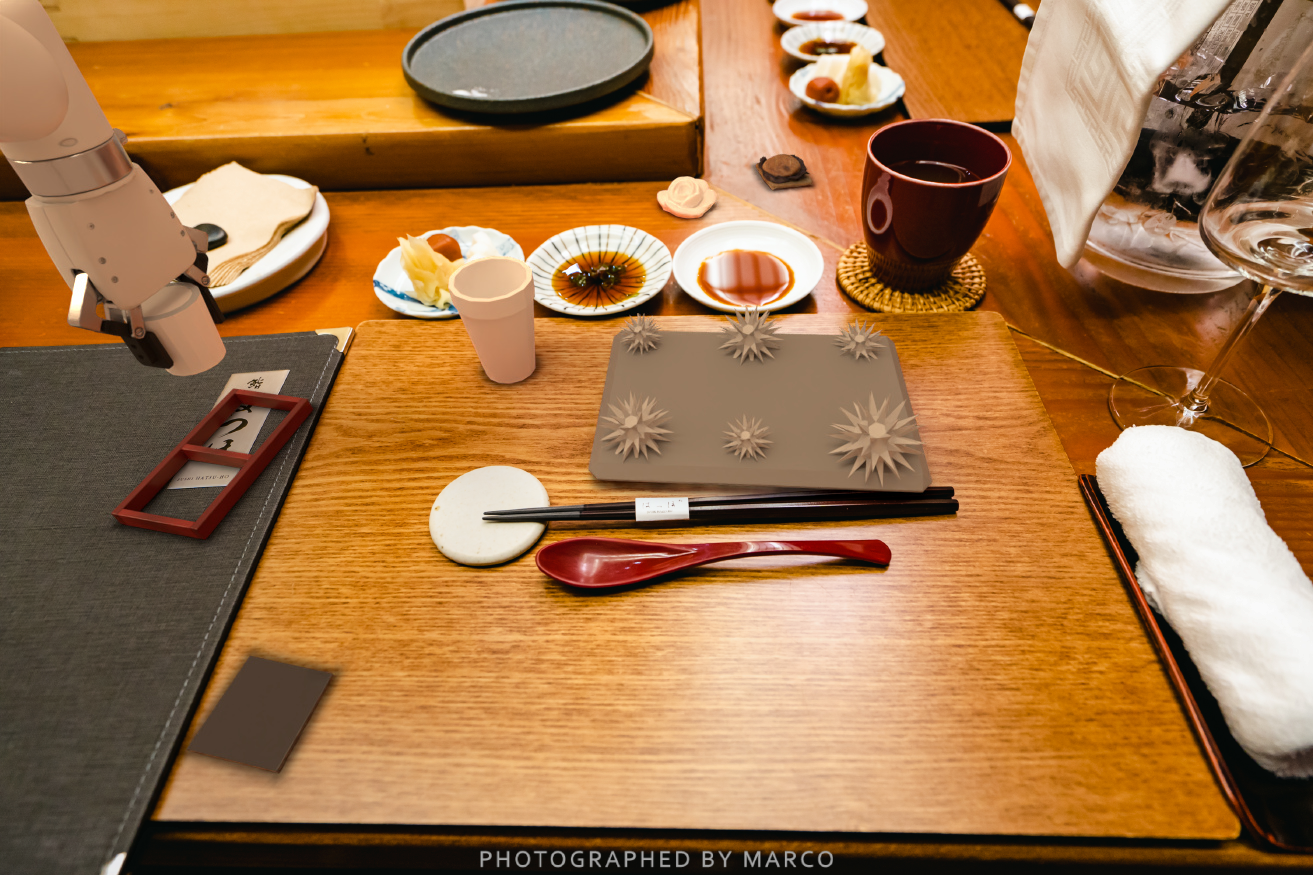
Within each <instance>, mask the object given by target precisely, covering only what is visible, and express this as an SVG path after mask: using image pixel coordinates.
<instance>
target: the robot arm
mask: <svg viewBox="0 0 1313 875" xmlns="http://www.w3.org/2000/svg"><path fill="white" fill-rule="evenodd" d="M55 26H56V25H55V24H54V22H53V21H52V19H51V18H50V16H49V14H48V12H47V10H46V9H45V8H44V6H43V4H42V3H41V2H40V1H39V0H0V151H1V152H2V154H3V155H4V156H5V159H6V160H7V162H8V163H9V164H10V166H11V167H12V169H13V170H14V171H15V174H16V175H17V176H18V177H19V179H20V180H21V182H22V183H23V184H24V186H25V187H26V189H27V190H28V191H29V193H30V194H31V196H30V197H29V198H27V199H25V201H24V203H25V206H26V209H27V212H28V214H29V218H30V219H31V222H32V224H33V227H34V229H35V231H36V233H37V235H38V237H39V239H40V240H41V241H40V242H41V244H42V246H43V247H44V248H45V250H46V252H47V254H48V256H49V257H50V259H51V261H52V262H53V264H54V266H55V267H56V269H57V271H58V272H59V274H60V276H61V277H62V278H63V280H64V282H65V283H66V285H67V286H68V287H69V290H70V291H71V292H72V294H71V298H70V305H69V310H68V314H67V318H66V319H67V320H66V321H67V324H68V325H69V327H74V328H78V329H80V330H81V329H82V330H85V331H90V332H94V333H98V334H104V335H110V336H114V337H115V336H116V337H120V338H121V339H122V341H123V342H124V344H125V345H126V347H127V348H128V349H129V351H130V352H131V354H132V355H133V356H134V358H135V360H136V361H137V362H138V363H140V364H141V365H143V366H145V367H151V368H157V369H164V370H166V369H170V368H171V367H172V366H173V365H174V364H173V363H174V362H173V360H172V359H171V357H170V356H169V354H168V353H167V351H166V350H165V348H164V347H163V345H162V343H161V342H160V340H159V339H158V337H157V336H156V334H155V333H153V332H150V331H145V325H144V319H143V313H142V307H141V304H142V303H143V302H144V301H146V300H147V299H149V298H150V297H151V296H153V295H154V294H155V293H157V292H158V291H160V290H161V289H162V288H164V287H165V286H166V285H168V284H169V283H173V281H175V282H184V283H191V284H193V285H195V286H197V287H198V288H199V290H200V293H201V295H202V297H203V299H204V302H205V304H206V306H207V308H208V311H209V313H210V315H211V317H212V320H213V322H214V324H215V325H222V324H223V323H224V322H226V318H225V316H224V314H223V312H222V311H221V309H220V307H219V304H218V302H217V301H216V299H215V298H214V296H213V294H212V292H211V291H210V289H209V286H210V285H211V278H210V276H209V275H208V269H209V268H208V266H209V256H208V254H207V253H208V248H209V234H208V233H207V232H206V231H204V230H200V229H197V228H194V227H191V226H187V225H184V224H183V223H182V222H181V220H180V219H179V217H178V215H177V214H176V212H175V211H174V209H173V207H172V206H171V205H170V203H169V201H168V200H167V199H166V197H165V196H164V195H163V193H162V192H161V191H160V189H159V188H158V187H157V185H156V184H155V182H154V181H153V180H152V179H151V178H150V176H149V175H148V174H147V173H146V172H145V171H144V169H143V168H142V167H141V166H140V165H139V164H138V163H136V162H132V160H131V158H130V157H129V155H128V153H127V151H126V150H125V148H124V145H126V144H127V143H128V141H129V139H128V136H127V135H126V133H125V132H124V131H123V130H121V129H120V128H117V127H112V125H111V123H110V122H109V120H108V118H107V117H106V114H105V113H104V111H103V110H102V107H101V106H100V104H99V102H98V101H97V99H96V97H95V95H94V94H93V91H92V89H91V88H90V86H89V84H88V83H87V81H86V79H85V78H84V76H83V74H82V72H81V71H80V68H79V67H78V65H77V63H76V62H75V60H74V58H73V56H72V55H71V53H70V51H69V49H68V47H67V45H66V44H65V42H64V40H63V39H62V37H61V34H60V33H59V32H58V30H57V28H56V27H55ZM100 304H102V305H103V309H104V316H105V318H103V317H100V316H98V315H97V307H98V305H100ZM122 310H125V314H126V320H127V323H126V322H125V321H124V319H123V313H122Z"/></svg>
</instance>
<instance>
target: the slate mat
mask: <svg viewBox="0 0 1313 875" xmlns="http://www.w3.org/2000/svg"><path fill="white" fill-rule="evenodd" d="M334 676H335V675H334V673H332V672H327V671H323V670H318V669H313V668H309V667H306V666H305V667H304V666H300V665H295V664H290V663H286V662H281V661H277V660H271V659H268V658H263V657H258V656H254V655H249V656H248V657H247V659H246V660H245V662H244V663H243V664H242V666H241V667H240V669H239V671H237V674H236V675H235V677H234V678H233V679H232V681H231V683H230V684H229V685H228V687H227V688H226V691H224V693H223V694H222V696H221V697H220V699H219V700H218V702H217V703H216V705H215V706H214V708H213V709H212V711H211V712H210V714H209V715H208V717H207V718H206V720H205V721H204V722H203V724H202V725H201V727H200V729H198V732H197V733H196V734H195V736H194V738H193V739H192V740H191V742H190V743H189V745H187V747H186V750H187V751H189V752H191V753H196V754H201V755H204V756H207V757H212V758H215V759H220V760H225V761H229V762H233V763H236V764H240V765H244V766H249V767H252V768H256V769H260V770H264V771H269V772H272V773H276V774H278V773H280V770H281V769H282V767H283V765H284V764H285V762H286V760H287V759H288V757H289V755H290V753H291V752H292V750H293V749H294V747H295V745H296V743H297V741H298V739H300V736H301V734H302V732H303V731H304V729H305V727H306V726H307V724H308V722H309V720H310V718H311V717H312V715H313V714H314V711H315V710H316V708H317V707H318V705H319V703H320V701H321V699H322V698H323V696H324V694H325V693H326V690H327V689H328V687H329V685H330V684H331V682H332V680H333V678H334Z"/></svg>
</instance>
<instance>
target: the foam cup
mask: <svg viewBox="0 0 1313 875" xmlns="http://www.w3.org/2000/svg"><path fill="white" fill-rule="evenodd" d="M447 285H448V286H447V288H448V292H449V295H450V298H451V301H452V305H453V306H454V308H455V309H456V310H457V312H458V315H459V317H460V319H461V322H462V323H463V326H464V328H465V330H466V332H467V335H468V337H469V339H470V341H471V343H472V346H473V348H474V351H475V353H476V355H477V357H478V359H479V362H480V364H481V366H482V368H483V370H484V372H485V374H486V376H487V377H488V379H489V380H490V381H494V382H496V383H498V384H514V383H518V382H522V381H524V380H525V379H527V378H528V377H530V376H531V375H532V374H533V372H534V371H535V370H536V335H535V307H534V306H535V304H534V299H535V297H536V284H535V281H534V275H533V269H532V268H531V266H529V265H528V263H526V262H525V261H524V260H521V259H519V258H515V257H512V256H504V255H503V256H502V255H501V256H499V255H490V256H485V257H480V258H476V259H472V260H469V261H468V262H466V263H464V264H462V265H460V266H458V267H457V268H456V269H455V271H454V272H452V274H450V276H449V278H448V284H447Z"/></svg>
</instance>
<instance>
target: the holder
mask: <svg viewBox="0 0 1313 875" xmlns="http://www.w3.org/2000/svg"><path fill="white" fill-rule="evenodd" d="M241 405H247V406H254V407H260V408H267V409H275V410H279V411H287V412H288V414H287V415H286V416H285V417H284V418H283V420H281V422H280V423H279V424H278V425H277V426H276V428H275V429H274V430H273V431H272V432H271V434H270V435H269V436H268V437H267V438H266V439H265V440H264V442H263V443H262V444H261V445H260V446H259V447H258V449H256V451H255V452H254V453H253V454H252V453H247V452H246V453H245V452H238V451H233V450H227V449H221V448H213V447H208V446H203V445H204V444H205V443H206V442H207V441H208V440H209V439H210V438H211V437H212V436H213V434H215V432H216V431H218V429H219V428H220V427H221V426H222V425H223V424H224V423H225V422H226V421H227V420H228V419H229V418H230V417H231V416H232V415H233V413H235V412H236V410H238V408H239V407H240V406H241ZM313 411H314V408H313V406H312V404H311V403H310V401H309V398H304V397H297V396H291V395H286V394H285V395H284V394H276V393H270V392H263V391H257V390H251V389H250V390H249V389H243V388H242V389H241V388H235V387H234V388H232V389H231V390H230V391H229V392H228V393H227V394H226V395H225V396H224V397H223V398H222V399H221V400H220V401H219V402H218V403H217V404H216V405H215V406H214V407H213V408H212V409H211V410H210V411H209V412H208V413H207V414H206V415H205V416H204V417H203V418H202V420H200V421H199V423H197V424H196V426H194V428H193V429H191V431H189V432H188V434H187V435H186V436H184V438H183V439H182V440H181V441H180V442H179V443H178V444H177V445H176V446H175V447H174V448H173V449H172V450H171V451H170V452H169V453H168V454H167V455H166V456H165V457H164V458H163V459H162V460H161V461H160V462H159V463H158V464H157V465H156V467H154V468H153V469H152V470H151V472H149V474H147V475H146V477H145V478H143V480H141V482H140V483H139V484H137V486H136V487H135V488H134V489H133V490H132V491H131V492H129V494H128V495H126V497H125V498H124V499H123V500H122V501H121V502H120V503H119V504H118V505H117V506H116V507H115V508H114V509H113V510H112V511H111V513H110V514H111V516H113V517H114V519H115V520H116V521H117V522H118V523H119V524H120V525H124V526H129V527H130V526H131V527H136V528H140V529H146V530H151V531H155V532H162V533H167V534H172V535H178V536H183V537H189V538H193V539H200V540H207V539H208V538H209V536H210V535H211V534H212V533H213V531H214V530H215V529H216V528H217V526H219V524H220V523H221V522H222V520H224V518H225V516H227V515H228V513H230V511H231V510H232V508H233V507H234V506H235V505H236V504H237V503H238V501H239V500H240V499H241V498H242V496H244V495H245V493H246V492H247V491H248V489H249V488H250V487H251V486H252V484H254V482H255V481H256V479H257V478H258V477H259V476H260V475H261V473H263V471H264V470H265V469H266V468H267V466H268V465H269V464H270V463H271V462H272V460H273V459H274V458H275V457H276V455H277V454H278V453H280V451H281V450H282V448H284V446H285V444H287V443H288V441H289V440H290V439H291V437H292V436H293V435H294V434H295V432H297V430H299V428H300V426H301V425H302V424H303V423H304V422H305V421H306V420H307V418H308V417H309V416H310V415H311V414H312V412H313ZM189 460H191V461H197V462H202V463H208V464H214V465H220V466H227V467H231V468H240V469H239V471H238V472H237V473H236V474H235V476H233V478H232V479H231V480H230V481H229V482H228V484H226V486H225V487H224V488H223V489H222V491H220V493H219V494H218V495H217V496H216V497H215V498H214V500H212V502H211V503H210V504H209V506H207V508H206V509H205V510H204V511H203V512H202V513H201V515H200V516H199V517H198V518H197V519H196V521H191V520H186V519H181V518H176V517H169V516H164V515H159V514H153V513H147V512H142V510H143V509H144V507H146V506H147V504H148V503H149V502H150V501H151V500H152V499H153V498H154V497H155V496H156V495H157V494H158V493H159V492H160V491H161V490H162V488H164V487H165V485H167V483H168V482H169V481H170V480H171V479H173V477H175V475H176V474H177V473H178V472H179V471H180V470H181V469H182V467H183V466H184V465H185V464H186V463H187V462H188V461H189Z"/></svg>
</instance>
